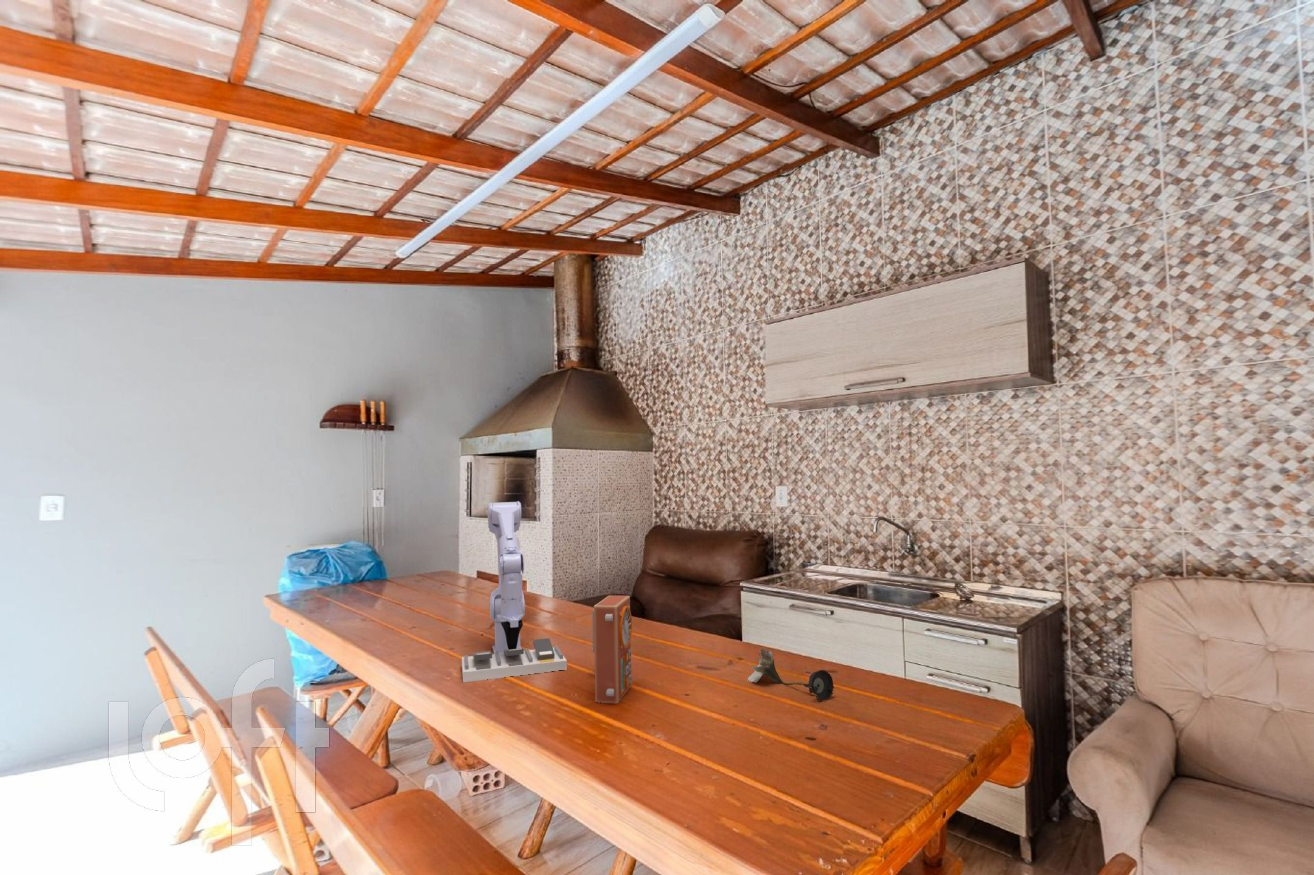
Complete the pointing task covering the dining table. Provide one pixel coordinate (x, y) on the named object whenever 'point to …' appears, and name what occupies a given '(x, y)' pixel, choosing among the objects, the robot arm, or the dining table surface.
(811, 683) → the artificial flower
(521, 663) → the switch board
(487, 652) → the rocker
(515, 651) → the middle rocker
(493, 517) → the robot arm
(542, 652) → the block
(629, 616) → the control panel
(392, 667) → the dining table surface
